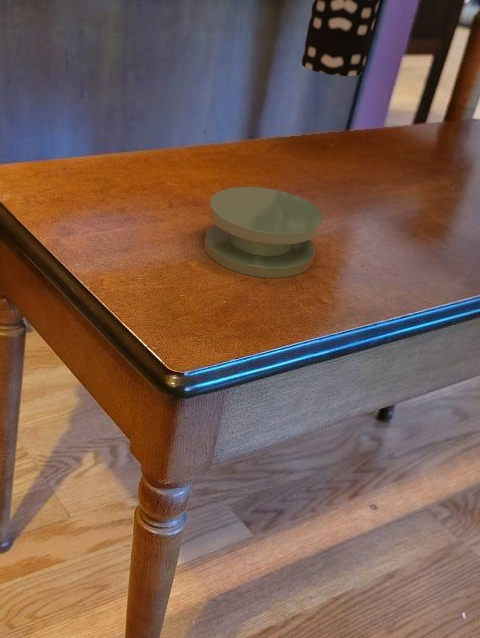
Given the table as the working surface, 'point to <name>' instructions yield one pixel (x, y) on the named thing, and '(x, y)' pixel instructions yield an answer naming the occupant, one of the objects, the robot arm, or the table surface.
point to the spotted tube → (339, 36)
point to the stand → (262, 232)
